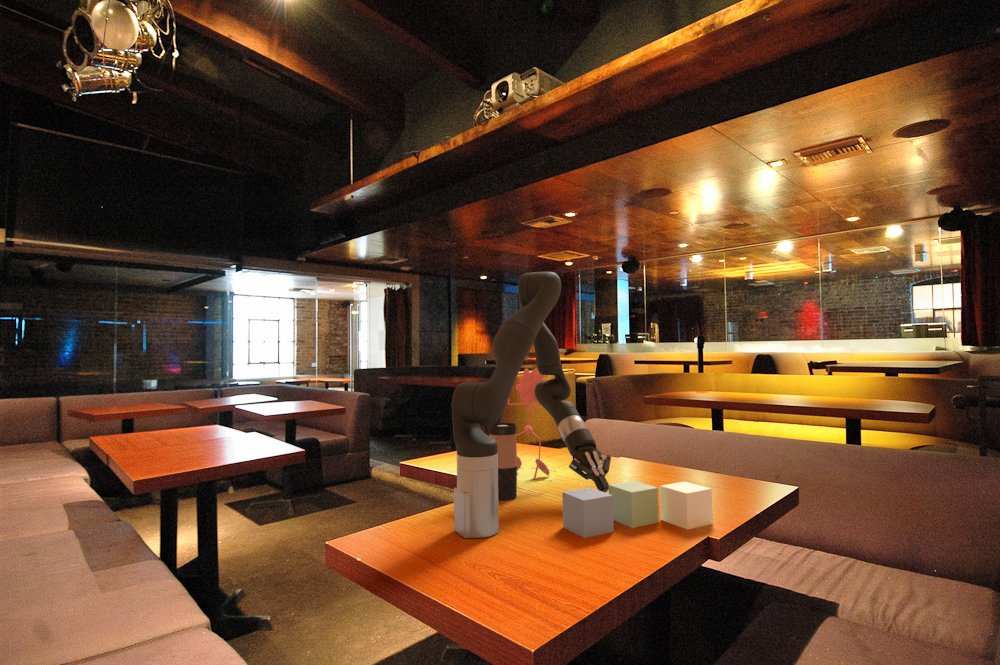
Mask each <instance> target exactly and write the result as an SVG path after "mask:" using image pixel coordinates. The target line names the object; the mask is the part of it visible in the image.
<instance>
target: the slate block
mask: <svg viewBox="0 0 1000 665" xmlns="http://www.w3.org/2000/svg"><path fill="white" fill-rule="evenodd" d="M561 497H562V498H561V499H562V528H563V529H566V530H568V531H570V532H571V533H573V534H574V535H577V536H579V537H581V538H583V539H587V538H592V537H596V536H601V535H605V534H610V533H614V532H615V531H614V530H615V529H614V526H615V525H614V522H615V521H614V519H613V495H610V494H609V492H602V491H599V490H598V489H597V488H593V487H585V488H579V489H573V490H572V489H571V490H568V491H567V490H566V491H562V496H561Z"/></svg>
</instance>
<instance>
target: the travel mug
mask: <svg viewBox="0 0 1000 665" xmlns="http://www.w3.org/2000/svg"><path fill="white" fill-rule="evenodd" d="M488 427H489V428H488V430H489V435H488V436H490V437H492V438H493V439H495V440H496V441H497V445H498V501H501V500H502V501H503V502H505V501H512V500H515V499H516V498H517V490H518V489H517V488H518V487H517V486H518V485H517V484H518V483H517V482H518V480H517V479H518V471H517V456H518V455H517V454H518V450H517V436H516V435H517V424H516V423H513V422H512V423H511V422H494V423H492V425H490V424H488ZM514 498H515V499H514ZM511 499H512V500H511ZM504 500H505V501H504Z"/></svg>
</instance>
